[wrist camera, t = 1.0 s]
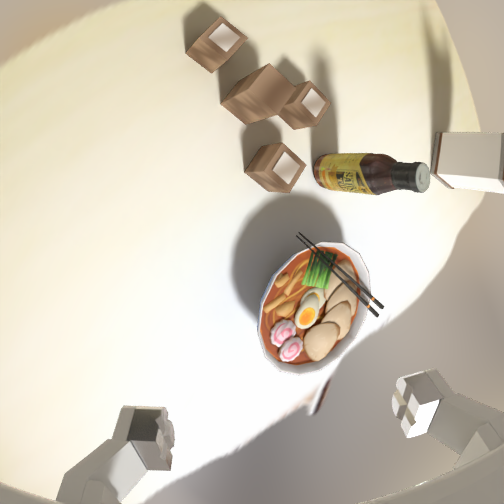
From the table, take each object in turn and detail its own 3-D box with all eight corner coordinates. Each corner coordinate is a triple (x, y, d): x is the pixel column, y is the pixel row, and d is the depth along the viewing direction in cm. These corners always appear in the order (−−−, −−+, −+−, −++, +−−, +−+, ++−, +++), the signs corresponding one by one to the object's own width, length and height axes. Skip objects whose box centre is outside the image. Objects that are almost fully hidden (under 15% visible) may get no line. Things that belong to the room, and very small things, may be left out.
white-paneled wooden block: (272, 109, 47) (294, 102, 42) (288, 88, 47) (311, 79, 42) (293, 129, 49) (317, 125, 44) (308, 107, 50) (332, 101, 44)
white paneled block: (243, 172, 47) (264, 171, 42) (262, 145, 47) (284, 141, 42) (267, 191, 50) (290, 193, 44) (284, 164, 50) (308, 163, 45)
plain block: (220, 104, 43) (248, 88, 35) (239, 81, 44) (269, 63, 36) (245, 124, 46) (277, 114, 38) (263, 101, 46) (296, 88, 38)
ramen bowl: (203, 319, 49) (223, 342, 42) (288, 201, 51) (320, 205, 44) (299, 374, 61) (325, 394, 54) (363, 280, 64) (393, 291, 56)
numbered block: (185, 53, 39) (199, 37, 34) (206, 32, 39) (222, 14, 34) (211, 73, 41) (228, 60, 36) (231, 51, 42) (249, 36, 36)
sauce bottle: (305, 175, 52) (402, 179, 35) (322, 146, 52) (418, 141, 35) (329, 197, 55) (424, 209, 38) (345, 169, 56) (438, 173, 38)
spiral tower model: (447, 188, 74) (564, 205, 44) (430, 173, 69) (560, 188, 38) (453, 150, 73) (566, 158, 43) (436, 132, 68) (561, 136, 37)
